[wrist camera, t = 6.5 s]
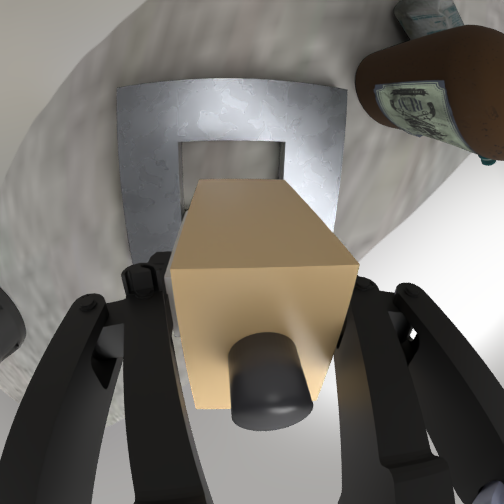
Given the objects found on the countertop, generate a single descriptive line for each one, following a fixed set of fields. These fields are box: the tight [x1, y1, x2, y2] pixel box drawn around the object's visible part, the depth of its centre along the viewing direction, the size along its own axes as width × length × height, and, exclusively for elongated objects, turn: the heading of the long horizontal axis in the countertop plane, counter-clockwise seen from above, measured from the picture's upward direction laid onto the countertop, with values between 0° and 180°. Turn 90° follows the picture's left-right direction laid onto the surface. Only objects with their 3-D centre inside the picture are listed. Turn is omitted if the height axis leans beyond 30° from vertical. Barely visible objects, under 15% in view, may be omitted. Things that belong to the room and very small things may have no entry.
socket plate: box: [117, 78, 347, 264], centre depth 27 cm, size 22×20×4 cm
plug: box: [170, 179, 359, 431], centre depth 11 cm, size 4×6×11 cm
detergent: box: [394, 0, 496, 166], centre depth 21 cm, size 13×7×25 cm
